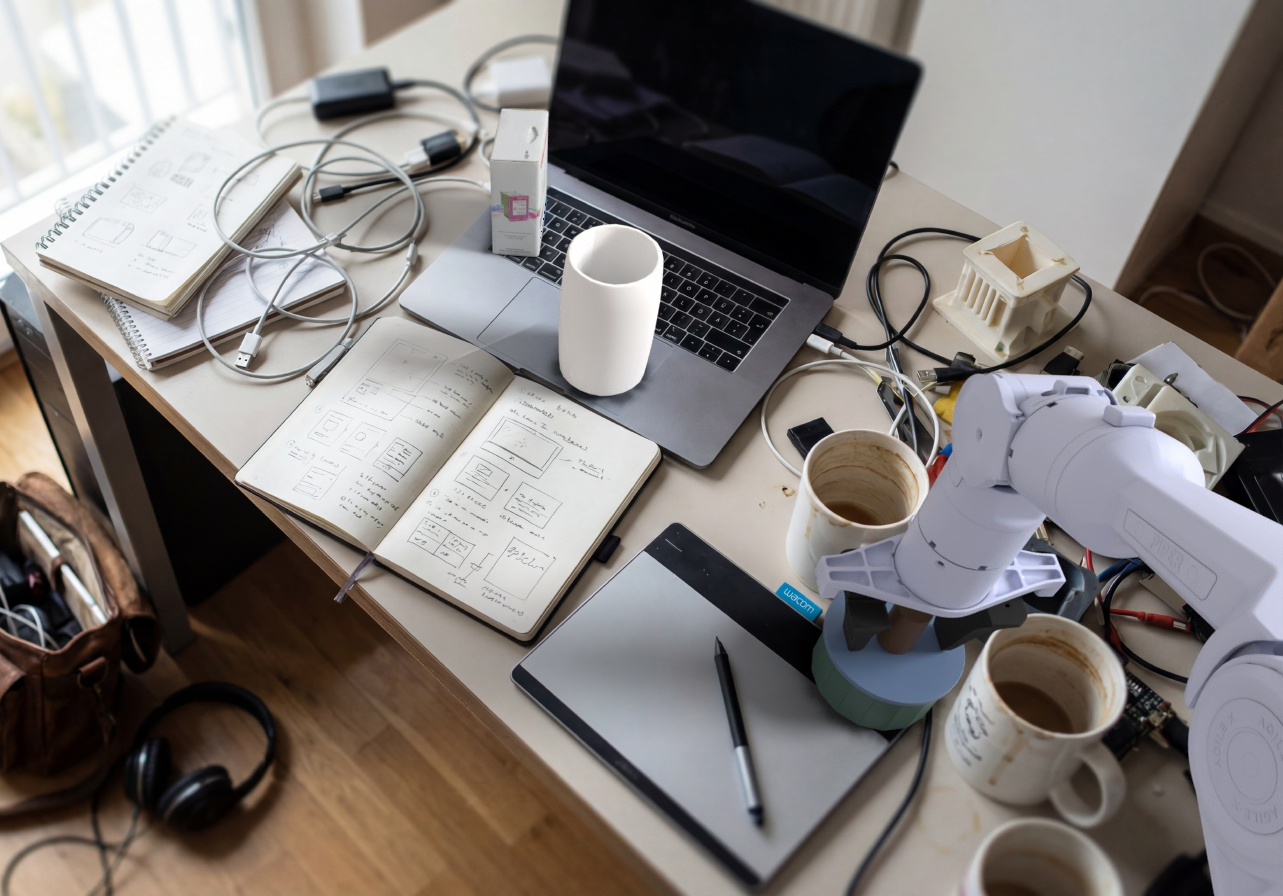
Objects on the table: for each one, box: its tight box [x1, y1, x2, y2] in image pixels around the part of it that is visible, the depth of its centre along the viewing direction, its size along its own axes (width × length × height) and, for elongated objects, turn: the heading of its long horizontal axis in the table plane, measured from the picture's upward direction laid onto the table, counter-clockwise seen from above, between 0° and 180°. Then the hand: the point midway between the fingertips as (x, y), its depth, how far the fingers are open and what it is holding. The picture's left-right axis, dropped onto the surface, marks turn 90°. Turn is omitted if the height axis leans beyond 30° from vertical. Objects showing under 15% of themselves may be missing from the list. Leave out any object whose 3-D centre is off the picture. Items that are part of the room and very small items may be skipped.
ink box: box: [489, 108, 550, 258], centre depth 101 cm, size 9×5×12 cm, turn 172°
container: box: [811, 631, 938, 732], centre depth 72 cm, size 9×9×5 cm
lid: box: [822, 590, 966, 706], centre depth 68 cm, size 9×9×6 cm
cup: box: [558, 223, 664, 397], centre depth 88 cm, size 8×8×14 cm
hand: (896, 637), depth 70 cm, fingers open, 6 cm apart
